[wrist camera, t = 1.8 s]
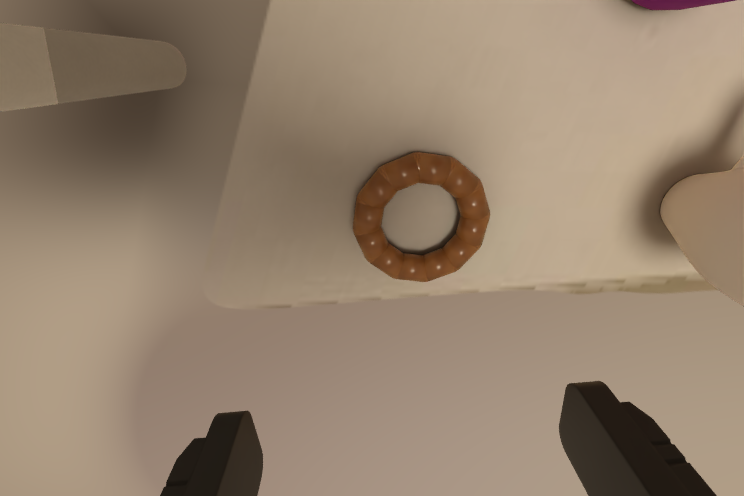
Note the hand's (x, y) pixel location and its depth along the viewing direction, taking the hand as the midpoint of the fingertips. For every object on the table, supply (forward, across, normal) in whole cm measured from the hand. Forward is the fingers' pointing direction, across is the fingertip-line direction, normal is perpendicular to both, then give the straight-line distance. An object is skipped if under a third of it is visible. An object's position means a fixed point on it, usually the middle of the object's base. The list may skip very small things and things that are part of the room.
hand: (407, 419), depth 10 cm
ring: (+19, -3, +2) cm, 19 cm away
